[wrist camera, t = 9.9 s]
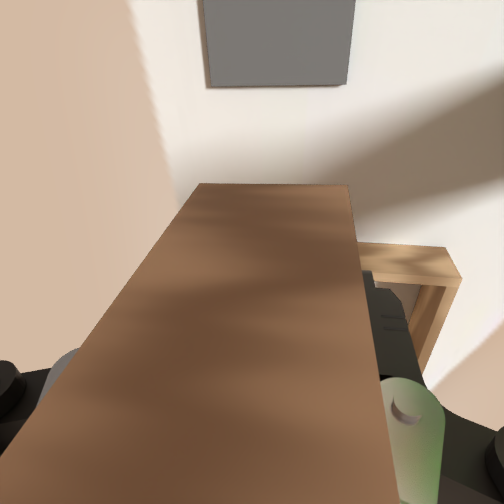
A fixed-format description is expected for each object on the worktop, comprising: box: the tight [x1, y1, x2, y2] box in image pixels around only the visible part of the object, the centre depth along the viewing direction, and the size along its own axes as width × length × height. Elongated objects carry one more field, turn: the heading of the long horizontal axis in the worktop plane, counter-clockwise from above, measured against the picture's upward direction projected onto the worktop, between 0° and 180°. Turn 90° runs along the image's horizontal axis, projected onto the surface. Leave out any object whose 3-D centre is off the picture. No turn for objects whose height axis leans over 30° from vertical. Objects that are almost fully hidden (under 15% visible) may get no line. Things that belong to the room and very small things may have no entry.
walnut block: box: [0, 183, 400, 504], centre depth 9 cm, size 5×5×10 cm
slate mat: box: [203, 0, 356, 86], centre depth 24 cm, size 11×11×1 cm
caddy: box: [357, 242, 462, 374], centre depth 37 cm, size 20×15×5 cm
